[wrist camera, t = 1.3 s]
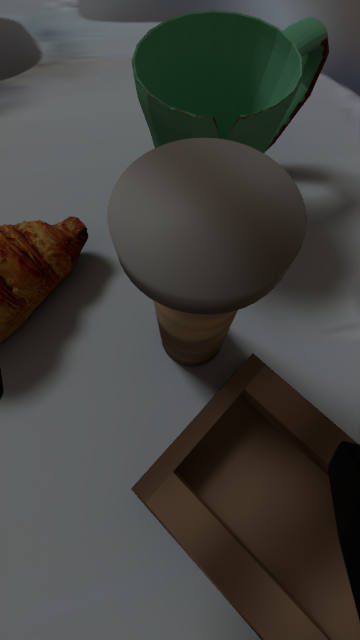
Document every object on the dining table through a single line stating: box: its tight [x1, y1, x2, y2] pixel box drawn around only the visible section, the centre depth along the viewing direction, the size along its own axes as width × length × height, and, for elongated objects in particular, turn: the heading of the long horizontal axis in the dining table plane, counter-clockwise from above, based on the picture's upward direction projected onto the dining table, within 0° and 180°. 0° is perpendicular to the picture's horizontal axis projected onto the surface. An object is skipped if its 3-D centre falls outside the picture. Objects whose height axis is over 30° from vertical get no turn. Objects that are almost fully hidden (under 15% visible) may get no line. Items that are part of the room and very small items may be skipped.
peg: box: [108, 138, 306, 366], centre depth 16 cm, size 6×6×13 cm
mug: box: [132, 10, 329, 153], centre depth 22 cm, size 15×10×10 cm
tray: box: [131, 354, 360, 640], centre depth 16 cm, size 20×11×3 cm, turn 46°
